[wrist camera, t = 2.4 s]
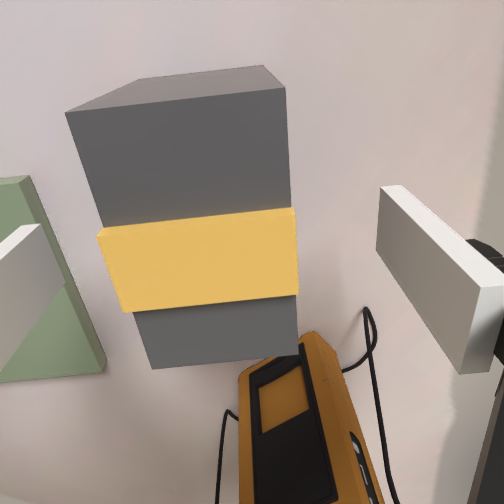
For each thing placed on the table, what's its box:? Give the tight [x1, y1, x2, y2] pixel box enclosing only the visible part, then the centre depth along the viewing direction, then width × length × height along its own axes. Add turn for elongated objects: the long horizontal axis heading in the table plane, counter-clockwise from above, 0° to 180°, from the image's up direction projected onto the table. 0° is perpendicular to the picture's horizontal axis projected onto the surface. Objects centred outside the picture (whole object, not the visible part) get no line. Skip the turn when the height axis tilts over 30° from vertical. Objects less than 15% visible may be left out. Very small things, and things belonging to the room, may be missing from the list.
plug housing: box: [65, 65, 299, 370], centre depth 16 cm, size 10×6×10 cm, turn 6°
